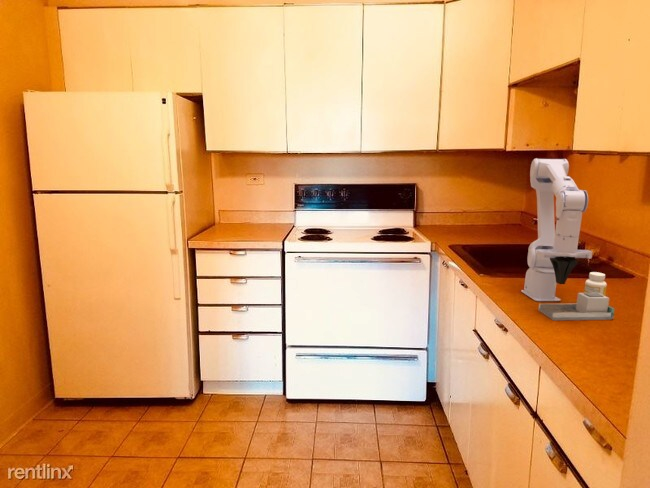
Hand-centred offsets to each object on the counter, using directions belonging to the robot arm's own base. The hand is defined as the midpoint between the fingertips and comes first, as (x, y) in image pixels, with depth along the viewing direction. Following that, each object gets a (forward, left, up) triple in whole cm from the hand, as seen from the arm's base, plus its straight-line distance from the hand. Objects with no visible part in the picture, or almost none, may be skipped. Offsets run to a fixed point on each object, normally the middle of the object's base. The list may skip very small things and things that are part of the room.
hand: (560, 283), depth 120 cm
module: (0, +10, -9) cm, 13 cm away
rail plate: (0, +6, -9) cm, 11 cm away
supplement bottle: (-8, +16, -10) cm, 20 cm away
